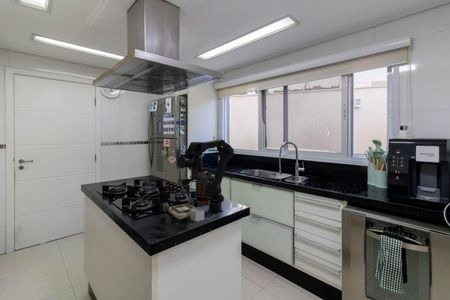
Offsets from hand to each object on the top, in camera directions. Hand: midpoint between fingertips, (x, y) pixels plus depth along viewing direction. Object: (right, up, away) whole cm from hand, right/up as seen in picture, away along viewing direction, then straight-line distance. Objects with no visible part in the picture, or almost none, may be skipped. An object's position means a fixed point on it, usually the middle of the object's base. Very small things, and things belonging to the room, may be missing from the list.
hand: (196, 196), depth 117 cm
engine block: (0, -12, +1) cm, 12 cm away
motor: (+1, -10, +29) cm, 30 cm away
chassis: (-9, -11, +12) cm, 18 cm away
